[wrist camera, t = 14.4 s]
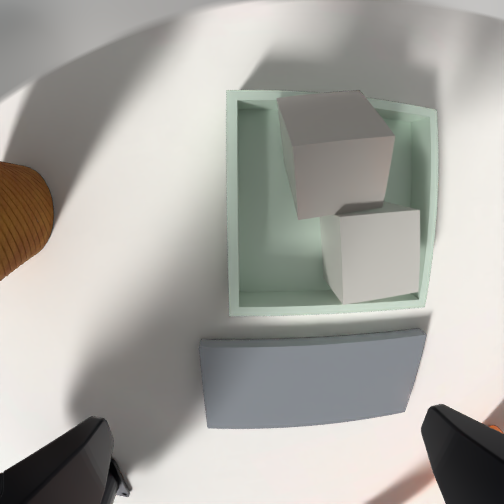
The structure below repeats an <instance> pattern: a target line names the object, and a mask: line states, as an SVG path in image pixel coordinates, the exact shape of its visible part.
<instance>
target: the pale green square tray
mask: <svg viewBox="0 0 504 504" xmlns="http://www.w3.org/2000/svg"><path fill="white" fill-rule="evenodd" d="M316 93H318V92H303V91H281V90H226V178H227V247H228V289H229V316H288V315H317V314H338V313H356V312H372V311H386V310H398V309H410V308H421V307H425V303H426V298H427V292H428V286H429V279H430V272H431V265H432V257H433V248H434V238H435V227H436V214H437V197H438V124H437V110H435V109H430V108H426V107H421V106H415V105H410V104H405V103H399V102H393V101H387V100H380V99H373V98H367V100H368V101H369V102H370V103H371V105H372V106H373V107H374V108H375V110H376V111H377V112H378V114H379V115H380V116H381V117H382V119H383V120H384V121H385V123H386V124H387V125H388V127H389V128H390V130H391V131H392V132H393V134H394V135H395V140H394V147H393V153H392V159H391V165H390V171H389V176H388V182H387V187H386V192H385V197H384V202H389V203H393V204H397V205H402V206H406V207H410V208H414V209H418V210H420V271H419V290H418V292H415V293H410V294H405V295H399V296H394V297H388V298H382V299H376V300H370V301H364V302H358V303H352V304H346V305H343V304H342V303H341V301H340V300H339V299H338V297H337V296H336V295H335V293H334V292H333V291H332V289H331V288H330V286H329V285H328V284H327V282H326V281H325V280H324V278H323V263H322V246H321V232H320V218H319V217H315V218H309V219H302V220H298V218H297V213H296V209H295V205H294V201H293V197H292V193H291V189H290V185H289V181H288V177H287V173H286V170H285V166H284V158H283V149H282V141H281V132H280V124H279V116H278V108H277V100H276V98H281V97H289V96H297V95H306V94H316Z"/></svg>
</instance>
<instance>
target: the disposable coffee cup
mask: <svg viewBox="0 0 504 504" xmlns="http://www.w3.org/2000/svg"><path fill="white" fill-rule="evenodd" d="M53 219H54V212H53V202H52V197H51V194H50V191H49V188H48V186H47V185H46V183H45V181H44V179H43V178H42V177H41V176H40V174H39V173H37V172H36V171H35V170H33V169H31V168H29V167H26V166H22V165H16V164H11V163H6V162H1V161H0V281H1V280H2V279H3V278H5V276H8V275H9V274H10V273H11V272H13V271H14V270H15V269H16V268H18V267H19V266H20V265H22V264H23V263H24V262H26V261H27V260H29V259H30V258H31V257H33V256H34V255H36V254H37V253H38V252H40V251H41V250H42V249H43V248H44V246H45V244H46V243H47V241H48V239H49V237H50V234H51V231H52V227H53Z"/></svg>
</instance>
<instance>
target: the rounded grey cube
mask: <svg viewBox="0 0 504 504" xmlns="http://www.w3.org/2000/svg"><path fill="white" fill-rule="evenodd" d="M319 218H320V232H321V246H322V263H323V278H324V280H325V281H326V282H327V284H328V285H329V286H330V288H331V289H332V291H333V292H334V293H335V295H336V296H337V297H338V299H339V300H340V301H341V303H342V304H343V305H346V304H352V303H358V302H364V301H370V300H376V299H382V298H388V297H394V296H399V295H405V294H410V293H415V292H418V290H419V271H420V210H418V209H414V208H410V207H406V206H402V205H397V204H393V203H389V202H383V207H382V208H376V209H369V210H362V211H355V212H349V213H342V214H335V215H328V216H322V217H319Z"/></svg>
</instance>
